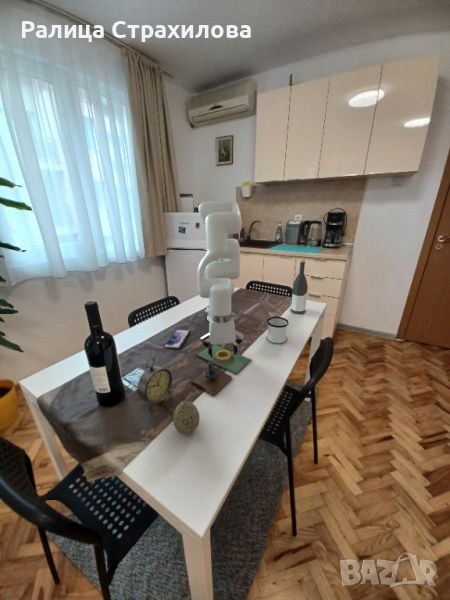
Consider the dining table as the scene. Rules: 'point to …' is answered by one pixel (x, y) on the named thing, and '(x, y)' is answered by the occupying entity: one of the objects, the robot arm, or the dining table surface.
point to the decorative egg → (186, 417)
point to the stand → (212, 379)
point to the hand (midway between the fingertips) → (223, 354)
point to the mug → (277, 329)
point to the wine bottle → (299, 291)
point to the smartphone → (177, 339)
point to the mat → (232, 365)
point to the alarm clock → (154, 384)
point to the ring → (224, 357)
